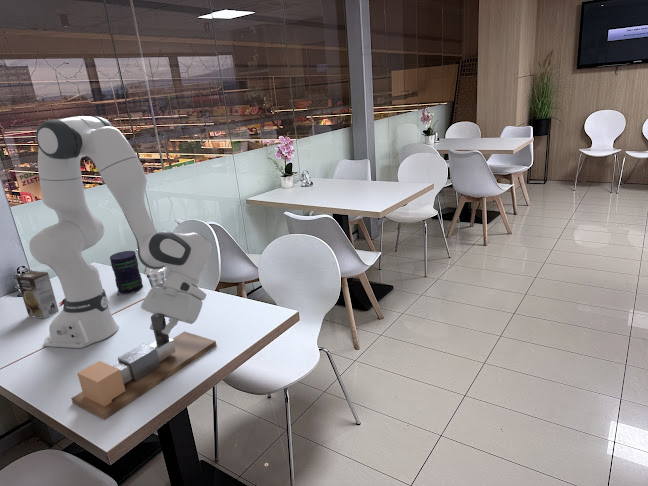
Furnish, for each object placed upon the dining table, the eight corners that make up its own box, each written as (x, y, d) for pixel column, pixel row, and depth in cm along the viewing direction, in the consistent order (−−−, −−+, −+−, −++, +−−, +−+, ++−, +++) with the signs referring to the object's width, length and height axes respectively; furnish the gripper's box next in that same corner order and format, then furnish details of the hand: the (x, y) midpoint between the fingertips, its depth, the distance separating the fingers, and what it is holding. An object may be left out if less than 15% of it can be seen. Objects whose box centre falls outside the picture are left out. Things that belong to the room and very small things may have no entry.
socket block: (105, 383, 122) (99, 360, 120) (126, 392, 117) (119, 369, 115) (84, 396, 117) (77, 372, 115) (104, 406, 112) (97, 382, 110)
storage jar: (147, 287, 189) (140, 253, 184) (124, 296, 182) (116, 260, 178) (136, 282, 195) (128, 249, 191) (113, 290, 189) (105, 256, 184)
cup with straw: (171, 295, 178) (160, 247, 172) (146, 300, 176) (135, 251, 170) (171, 287, 186) (161, 240, 180) (148, 292, 184) (137, 244, 178)
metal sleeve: (147, 361, 130) (143, 343, 129) (160, 366, 127) (156, 348, 125) (122, 377, 124) (117, 358, 122) (135, 382, 121) (130, 363, 119)
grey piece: (166, 348, 135) (158, 311, 131) (175, 351, 132) (167, 314, 129) (100, 388, 118) (89, 347, 114) (109, 392, 116) (98, 351, 112)
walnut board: (185, 335, 146) (184, 331, 146) (216, 345, 139) (215, 340, 138) (72, 403, 117) (71, 398, 117) (104, 419, 110) (102, 414, 109)
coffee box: (27, 316, 172) (14, 276, 167) (43, 308, 177) (31, 270, 172) (44, 319, 168) (32, 278, 163) (60, 311, 174) (48, 271, 169)
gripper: (148, 277, 137) (127, 321, 132) (196, 287, 126) (174, 336, 121) (164, 285, 142) (143, 328, 137) (210, 296, 131) (190, 342, 126)
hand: (158, 332), depth 129 cm, fingers closed on grey piece, 4 cm apart
